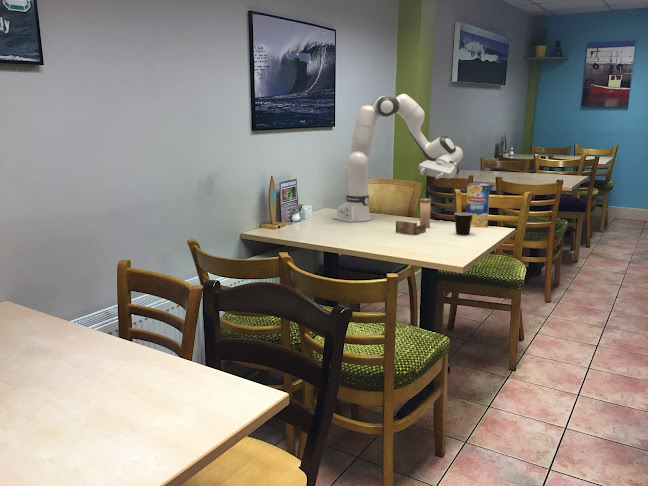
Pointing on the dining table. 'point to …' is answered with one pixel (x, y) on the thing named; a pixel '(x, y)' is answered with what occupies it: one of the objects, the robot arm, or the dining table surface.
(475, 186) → the blue yellow food box
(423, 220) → the canister
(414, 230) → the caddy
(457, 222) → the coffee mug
